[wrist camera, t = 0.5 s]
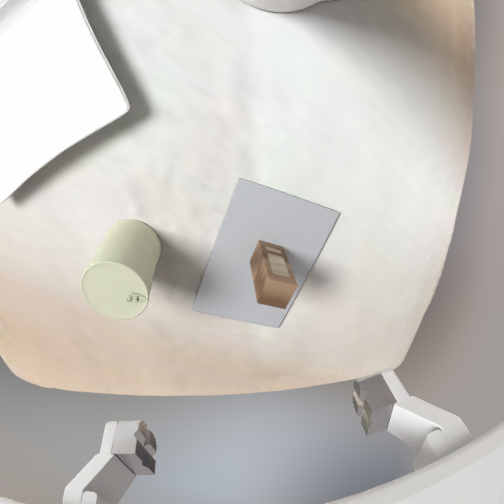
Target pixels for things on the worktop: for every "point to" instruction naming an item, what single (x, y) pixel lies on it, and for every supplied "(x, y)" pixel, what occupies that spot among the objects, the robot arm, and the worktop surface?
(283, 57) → the worktop surface
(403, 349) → the worktop surface
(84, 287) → the can
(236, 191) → the grey mat
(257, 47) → the worktop surface
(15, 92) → the square plate
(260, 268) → the brown box
